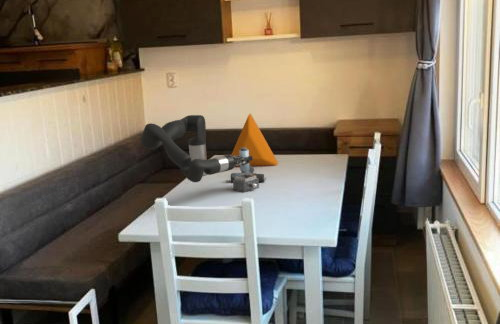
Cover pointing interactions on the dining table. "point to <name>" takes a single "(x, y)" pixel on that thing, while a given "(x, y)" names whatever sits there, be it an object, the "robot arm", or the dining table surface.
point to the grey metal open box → (245, 183)
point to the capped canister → (244, 153)
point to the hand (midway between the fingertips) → (248, 157)
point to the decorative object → (254, 145)
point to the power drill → (260, 176)
